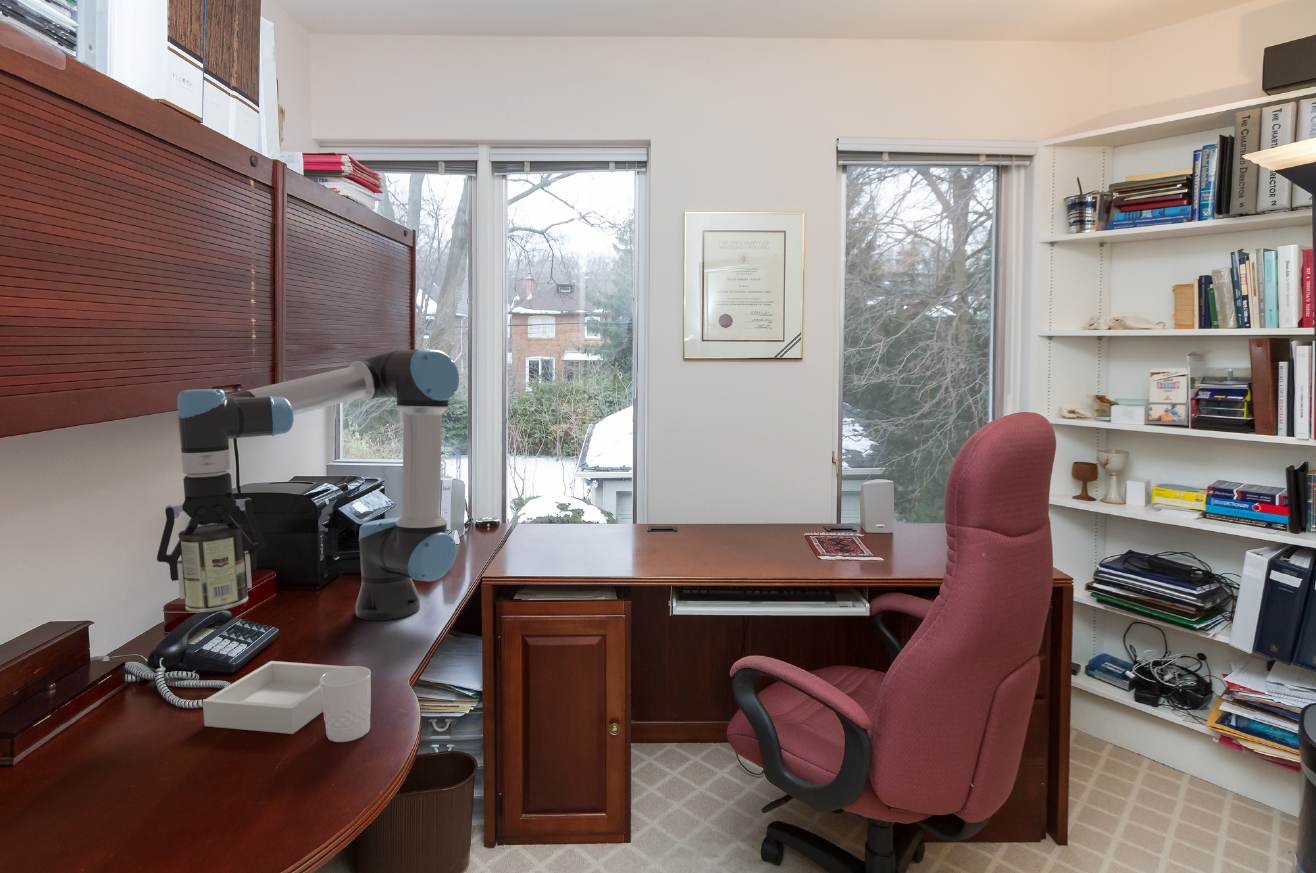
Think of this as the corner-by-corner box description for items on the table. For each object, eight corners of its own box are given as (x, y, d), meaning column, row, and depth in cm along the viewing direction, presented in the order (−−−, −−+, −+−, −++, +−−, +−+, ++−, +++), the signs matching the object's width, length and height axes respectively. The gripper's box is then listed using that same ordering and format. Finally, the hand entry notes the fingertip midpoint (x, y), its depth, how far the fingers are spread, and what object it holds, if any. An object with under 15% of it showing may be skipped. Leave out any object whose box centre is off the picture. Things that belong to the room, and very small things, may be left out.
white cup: (322, 748, 120) (319, 689, 119) (323, 726, 127) (319, 670, 126) (374, 738, 123) (371, 680, 122) (372, 717, 130) (369, 662, 129)
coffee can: (221, 592, 145) (216, 521, 144) (261, 597, 142) (255, 525, 140) (171, 609, 136) (164, 533, 134) (211, 615, 132) (205, 538, 131)
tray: (204, 725, 128) (202, 700, 127) (272, 683, 144) (271, 660, 144) (293, 733, 125) (291, 708, 124) (352, 689, 141) (350, 666, 141)
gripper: (130, 482, 127) (142, 608, 129) (278, 470, 139) (286, 585, 142) (132, 477, 133) (143, 597, 136) (273, 465, 145) (281, 576, 148)
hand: (216, 591), depth 139 cm, fingers closed on coffee can, 10 cm apart
